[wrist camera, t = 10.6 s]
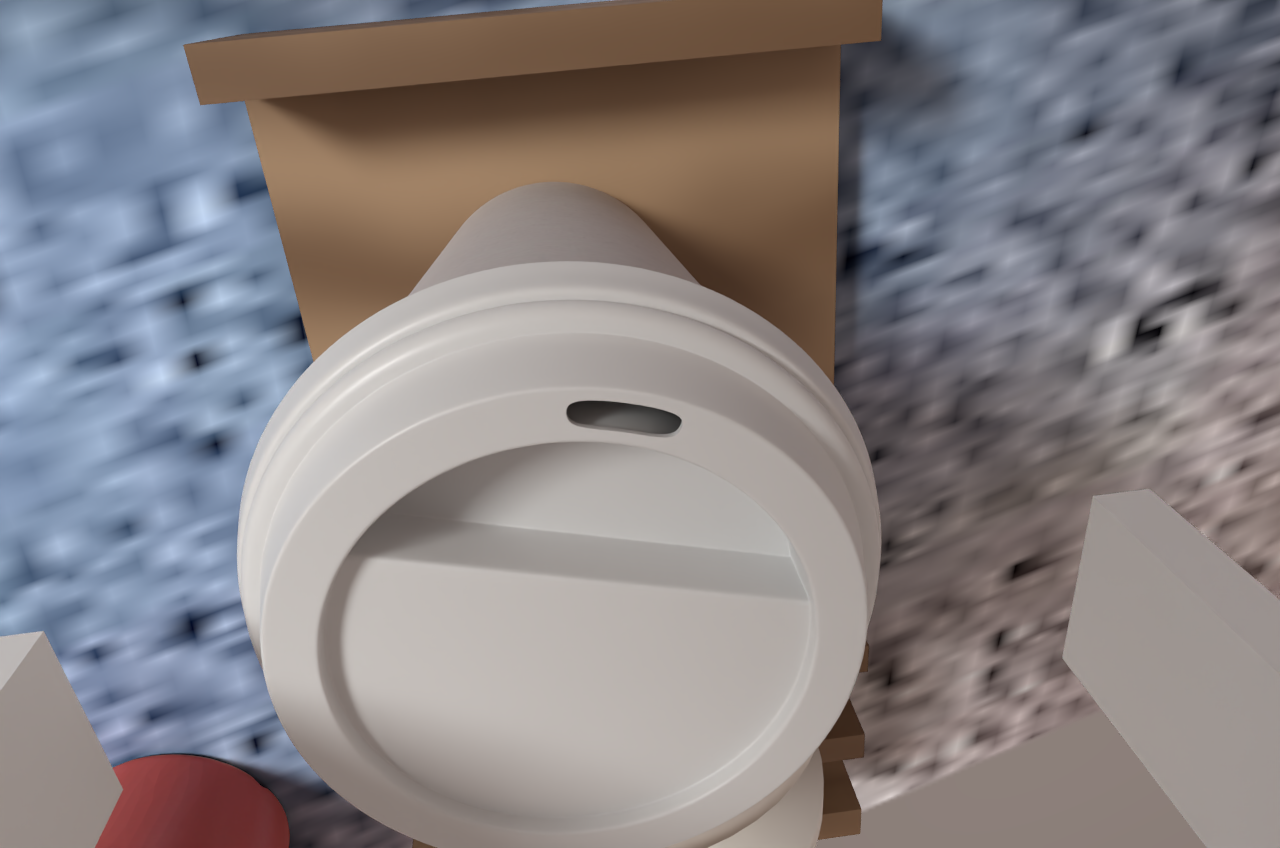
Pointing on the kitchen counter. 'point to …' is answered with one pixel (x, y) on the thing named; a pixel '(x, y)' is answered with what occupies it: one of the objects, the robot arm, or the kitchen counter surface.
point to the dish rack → (574, 153)
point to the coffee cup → (559, 544)
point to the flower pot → (192, 807)
